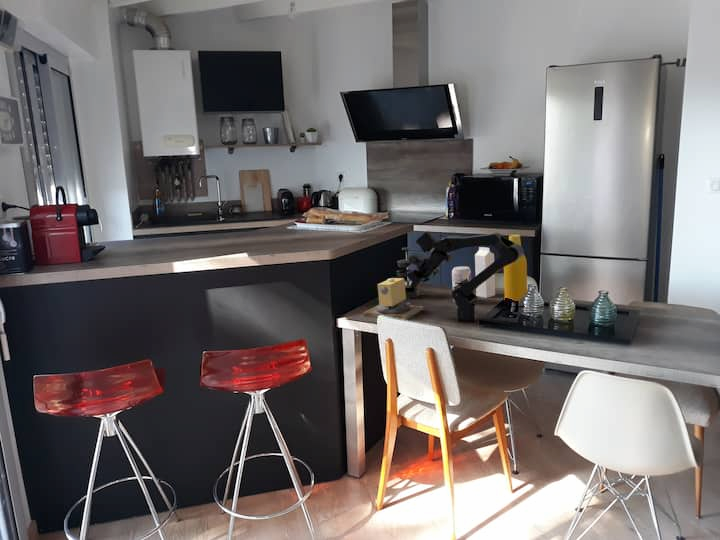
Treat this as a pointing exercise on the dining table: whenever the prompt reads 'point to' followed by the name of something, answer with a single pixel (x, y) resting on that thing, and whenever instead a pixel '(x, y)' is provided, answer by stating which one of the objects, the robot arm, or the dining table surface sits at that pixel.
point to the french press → (399, 274)
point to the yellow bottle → (515, 275)
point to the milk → (481, 262)
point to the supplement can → (460, 275)
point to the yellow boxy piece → (391, 291)
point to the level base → (401, 315)
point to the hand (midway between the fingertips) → (411, 287)
